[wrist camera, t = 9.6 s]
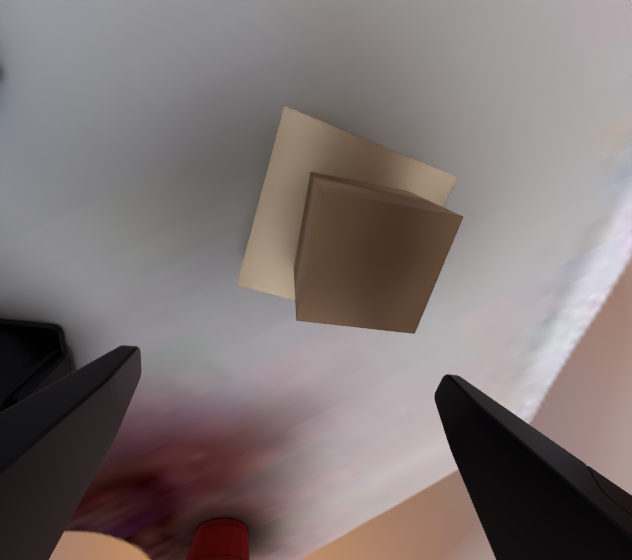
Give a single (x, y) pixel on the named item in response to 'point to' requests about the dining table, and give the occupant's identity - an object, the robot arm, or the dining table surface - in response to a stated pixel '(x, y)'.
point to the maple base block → (292, 183)
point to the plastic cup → (220, 541)
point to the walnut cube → (368, 254)
